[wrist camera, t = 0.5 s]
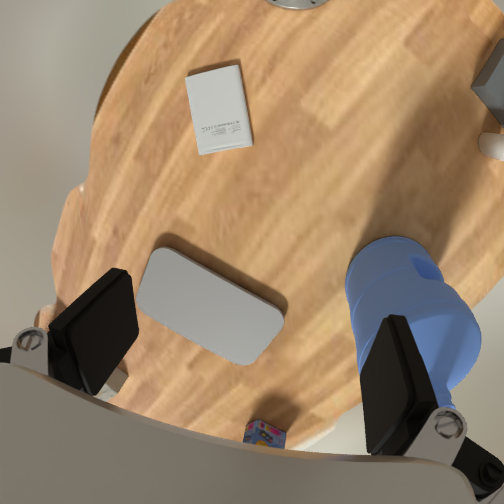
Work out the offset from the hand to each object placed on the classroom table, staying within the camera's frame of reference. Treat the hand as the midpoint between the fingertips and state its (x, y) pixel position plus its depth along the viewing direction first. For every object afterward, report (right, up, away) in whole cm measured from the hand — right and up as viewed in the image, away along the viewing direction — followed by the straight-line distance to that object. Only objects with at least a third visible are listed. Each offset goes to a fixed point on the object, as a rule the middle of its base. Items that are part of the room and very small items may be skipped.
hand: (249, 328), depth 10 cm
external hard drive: (-5, +24, +30) cm, 39 cm away
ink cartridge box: (+4, -43, +58) cm, 73 cm away
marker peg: (+37, +20, +23) cm, 48 cm away
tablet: (-8, -7, +45) cm, 46 cm away
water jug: (+23, -2, +36) cm, 43 cm away
